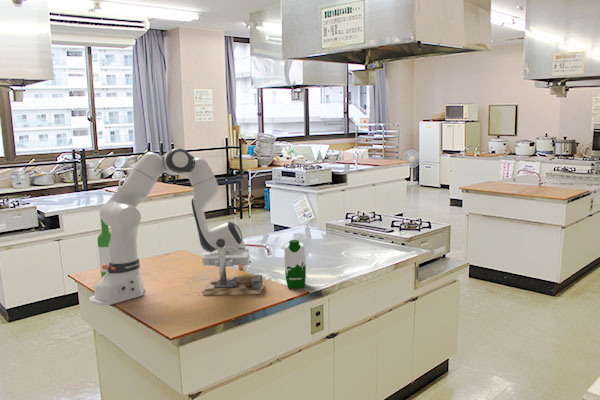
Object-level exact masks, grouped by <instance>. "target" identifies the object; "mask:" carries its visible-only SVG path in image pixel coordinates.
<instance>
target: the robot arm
mask: <svg viewBox="0 0 600 400" xmlns="http://www.w3.org/2000/svg"><path fill="white" fill-rule="evenodd" d="M161 175H165V176H170V177H175V176H179V175H185V176H186V177H187V178H188V180H189V182H190V184H191V187H192V189H193V198H191V208H192V213H193V217H194V220H195V221H194V222H195V223H196V228H197V232H198V237H199V243H200V246H201V248H202V249H203V251H204V250H205V251H206V252H210V253H208V254H206V255H204V256H203V257H202V259H201V261H202V262H201V263H202V265H203V266H205V267H206V266H207V267H208V266H211V267H212V266H214V267H216V268H219V260H218V252H217V253H213V252H215V251H218V247H217V245H216V241H217V240H218V239H223V240H224V241H225V246H224V248H225V266H226V267H234V266H247V265H250V263H251V262H250V261H251V259H250V251H249V248H246V247H247V246H246V244H245V241H244V240H243V233H242V231H241V229H240V227H239V226H238V225H237V224H235V223H234V222H233V221H227V222H225V223H222V224H220V225H217V226H215V227H211V228H209V226H208V222H207V219H206V215H205V209H206V207H207V205H209V203H211V202H212V200H214V198H215V197H216V196H217V194H218V192H219V184H218V181H217V178H216V177H215V174H214V172H213V170H212V168H211V167H210V164H209V163H208V162H207V160H205V158H203V157H194V156H193V155H191V154H190V153H189V152H188V151H187V150H185V149H183V148H179V147H178V148H176V147H175V148H173V149H171V150H169V151H167V152H166V153H164V154H163V155H159V154H158V153H156V152H151V151H147V152H146V153H144V154H143V155H142V156H141V158H140V159H139V160H138V161H137V162H136V163H135V165H134V166H133V168H132V169H131V171H130V172H129V174H128V176H127V177H126V179H125V180H124V181H123V184H122V185H121V186H120V187H119V188H118V190H116V192H115V193H114V194H113V195H112V196H111V197H110V198H109V199H108V201H106V202H105V203H104V204H103V205H102V206H101V207H100V210H99V217H100V220H101V219H102V220H103V222H104V223H105V224H107V225H108V227H110V232H111V238H110V242H109V254H110V263H109V266H108V265H105V264H103V265H102V269H105V270H107V269H108V270H107V271H108V272H107V273H106V274H105V275H104V276H103V278H102V277H101V279H100V280H99V281H97V283H96V284H95V285H94V295H92V296H90V297H89V302H90V303H92V304H94V305H99V306H111V305H115V304H118V303H121V302H124V301H128V300H131V299H135V298H139V297H142V296H144V292H145V291H146V289H145V286H144V284H143V280H142V277H141V271H140V267H141V265H140V259H139V257H138V245H137V244H138V243H137V240H138V239H137V238H138V230H139V229H138V228H139V224H141V219H142V215H141V212H140V210H138V208H137V207H138V206H139V205H140V204H141V203H142V202H143V201H145V200H146V199H147V197H148V196H149V195H150V193H151V191H152V189H153V188H154V186H155V184H156V183H157V181H158V179H159V178H160V176H161Z"/></svg>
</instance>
